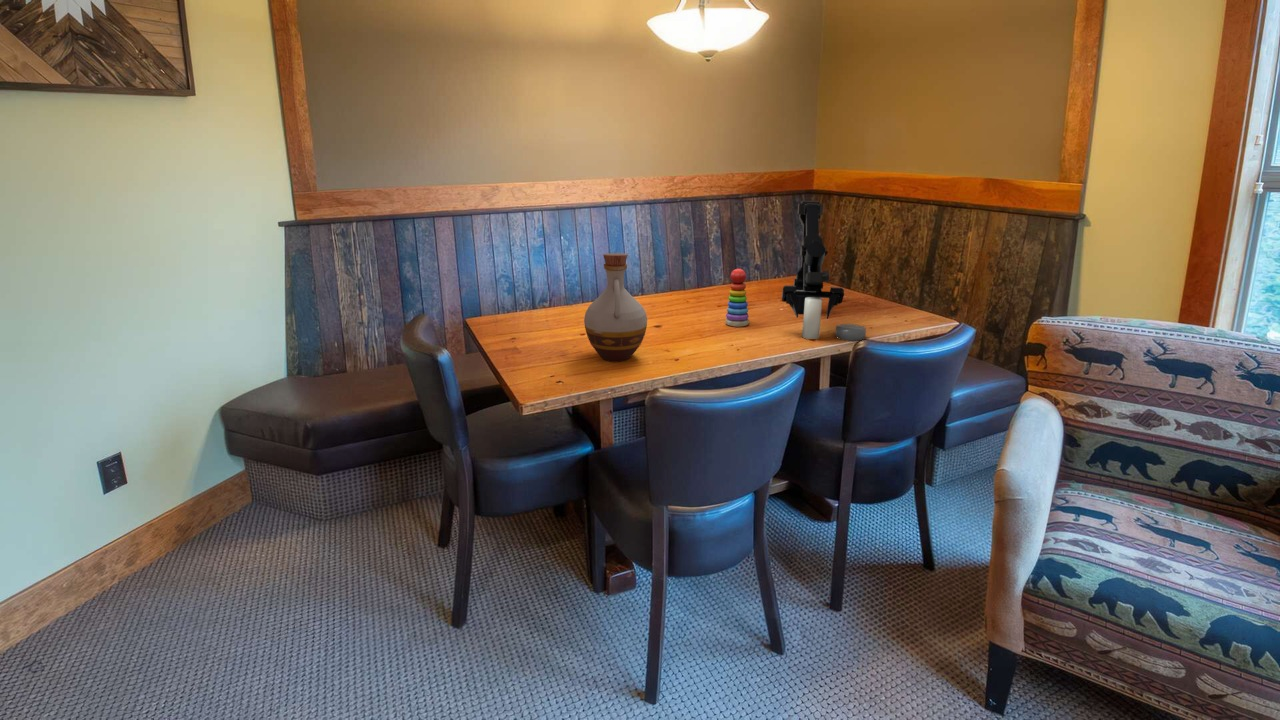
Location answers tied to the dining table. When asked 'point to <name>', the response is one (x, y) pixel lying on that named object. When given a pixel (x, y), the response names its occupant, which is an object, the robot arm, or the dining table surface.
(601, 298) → the jug
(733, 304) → the stacking toy
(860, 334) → the plinth
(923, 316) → the dining table surface
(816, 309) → the tapered white cylinder
